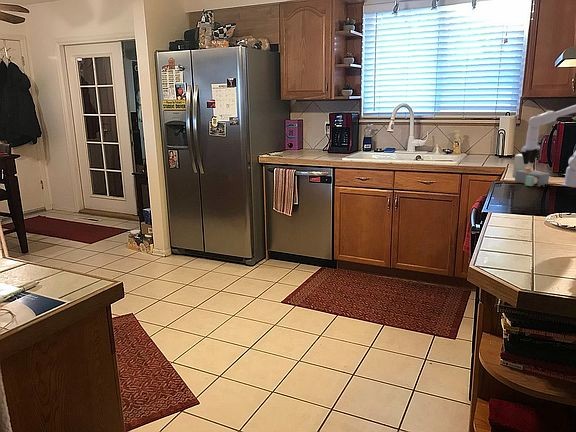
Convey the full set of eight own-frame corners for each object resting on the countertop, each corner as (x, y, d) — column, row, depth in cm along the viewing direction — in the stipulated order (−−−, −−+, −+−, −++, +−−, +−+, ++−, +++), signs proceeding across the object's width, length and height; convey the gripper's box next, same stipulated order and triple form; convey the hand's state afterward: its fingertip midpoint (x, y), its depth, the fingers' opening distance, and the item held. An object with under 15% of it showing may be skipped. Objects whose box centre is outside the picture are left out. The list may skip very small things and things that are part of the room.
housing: (524, 179, 273) (525, 169, 271) (547, 184, 261) (549, 173, 260) (514, 181, 268) (516, 170, 266) (538, 186, 257) (540, 175, 255)
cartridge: (537, 181, 264) (538, 173, 263) (544, 183, 261) (545, 174, 260) (524, 184, 258) (525, 175, 257) (531, 186, 255) (532, 177, 253)
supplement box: (529, 176, 281) (532, 154, 277) (525, 178, 276) (528, 156, 272) (516, 174, 286) (519, 153, 282) (511, 176, 280) (514, 155, 277)
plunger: (525, 174, 268) (526, 167, 267) (531, 175, 266) (532, 168, 264) (522, 174, 267) (523, 167, 265) (528, 175, 264) (529, 168, 263)
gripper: (532, 136, 267) (529, 160, 271) (517, 139, 260) (514, 163, 264) (545, 138, 261) (541, 162, 265) (529, 140, 254) (526, 165, 258)
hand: (528, 163), depth 264 cm, fingers open, 5 cm apart
